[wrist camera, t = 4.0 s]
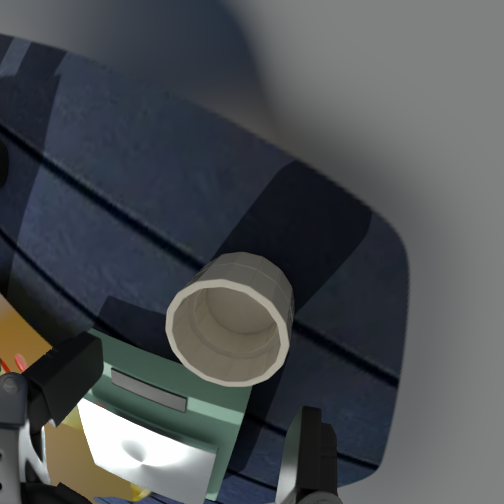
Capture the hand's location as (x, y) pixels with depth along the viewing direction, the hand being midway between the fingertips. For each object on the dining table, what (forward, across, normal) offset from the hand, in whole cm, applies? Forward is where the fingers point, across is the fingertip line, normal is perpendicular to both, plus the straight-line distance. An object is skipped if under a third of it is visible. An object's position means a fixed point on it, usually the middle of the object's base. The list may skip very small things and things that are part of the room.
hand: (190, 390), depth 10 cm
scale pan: (+5, +5, +17) cm, 18 cm away
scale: (+9, +5, +15) cm, 18 cm away
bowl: (+9, 0, 0) cm, 9 cm away
